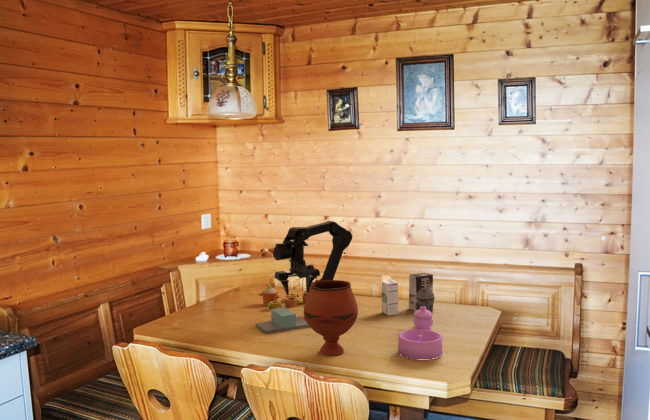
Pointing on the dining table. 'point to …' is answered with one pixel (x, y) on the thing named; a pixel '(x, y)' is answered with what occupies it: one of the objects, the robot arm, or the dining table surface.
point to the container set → (420, 338)
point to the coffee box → (418, 287)
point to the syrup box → (390, 297)
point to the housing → (283, 317)
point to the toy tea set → (271, 297)
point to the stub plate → (272, 327)
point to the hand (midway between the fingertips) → (297, 294)
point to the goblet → (330, 312)
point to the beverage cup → (426, 298)
